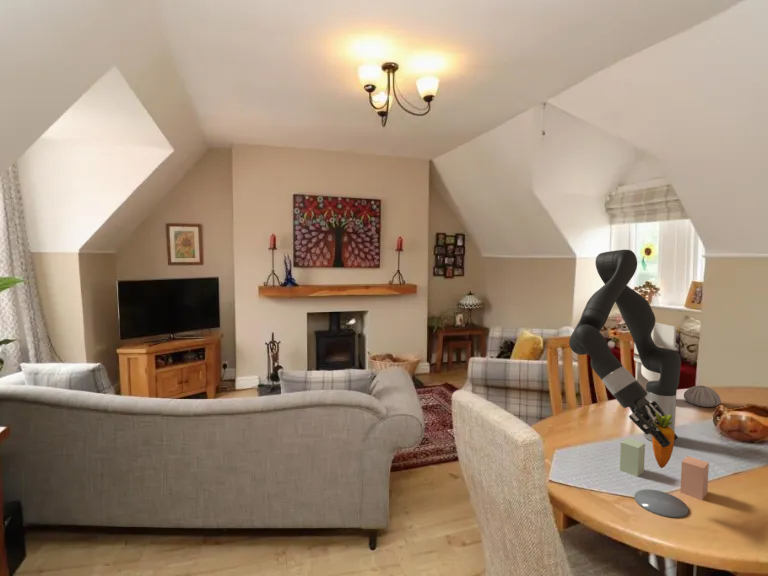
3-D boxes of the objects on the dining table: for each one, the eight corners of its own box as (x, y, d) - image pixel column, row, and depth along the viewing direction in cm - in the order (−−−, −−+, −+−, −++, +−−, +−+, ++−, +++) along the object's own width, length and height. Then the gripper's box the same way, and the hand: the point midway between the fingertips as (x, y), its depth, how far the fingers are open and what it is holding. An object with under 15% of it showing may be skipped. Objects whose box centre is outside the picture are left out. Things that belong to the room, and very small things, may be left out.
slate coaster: (644, 486, 122) (644, 484, 122) (694, 505, 113) (694, 503, 113) (627, 502, 115) (627, 500, 115) (679, 523, 105) (679, 521, 105)
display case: (632, 397, 197) (635, 323, 194) (653, 396, 198) (656, 322, 196) (650, 406, 186) (653, 327, 183) (672, 405, 187) (676, 326, 184)
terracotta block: (686, 486, 122) (687, 456, 122) (707, 493, 118) (708, 462, 118) (680, 492, 119) (681, 461, 118) (701, 500, 115) (703, 468, 115)
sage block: (626, 465, 135) (627, 437, 134) (643, 471, 131) (645, 443, 130) (619, 470, 132) (620, 442, 131) (637, 476, 128) (638, 447, 127)
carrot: (646, 463, 115) (648, 410, 114) (663, 462, 116) (666, 409, 114) (659, 473, 110) (662, 417, 109) (677, 472, 111) (680, 416, 110)
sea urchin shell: (688, 407, 185) (689, 389, 184) (679, 397, 198) (680, 380, 197) (725, 410, 180) (726, 392, 180) (713, 400, 193) (714, 383, 192)
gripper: (623, 384, 113) (674, 444, 104) (644, 375, 122) (692, 429, 113) (602, 399, 117) (649, 457, 109) (624, 388, 126) (668, 441, 118)
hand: (670, 442), depth 111 cm, fingers closed on carrot, 5 cm apart
